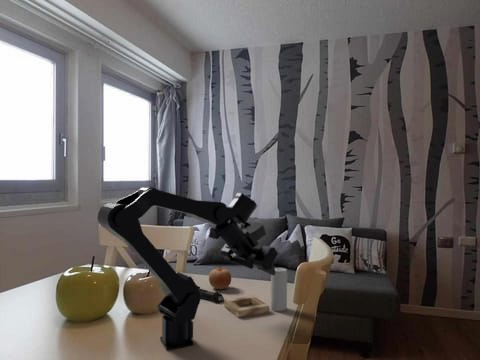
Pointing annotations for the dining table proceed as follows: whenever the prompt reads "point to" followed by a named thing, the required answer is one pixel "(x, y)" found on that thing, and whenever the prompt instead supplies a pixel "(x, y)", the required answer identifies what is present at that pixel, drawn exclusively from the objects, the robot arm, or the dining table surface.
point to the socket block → (246, 306)
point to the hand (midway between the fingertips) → (263, 270)
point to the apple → (220, 278)
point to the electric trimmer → (211, 296)
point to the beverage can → (279, 290)
